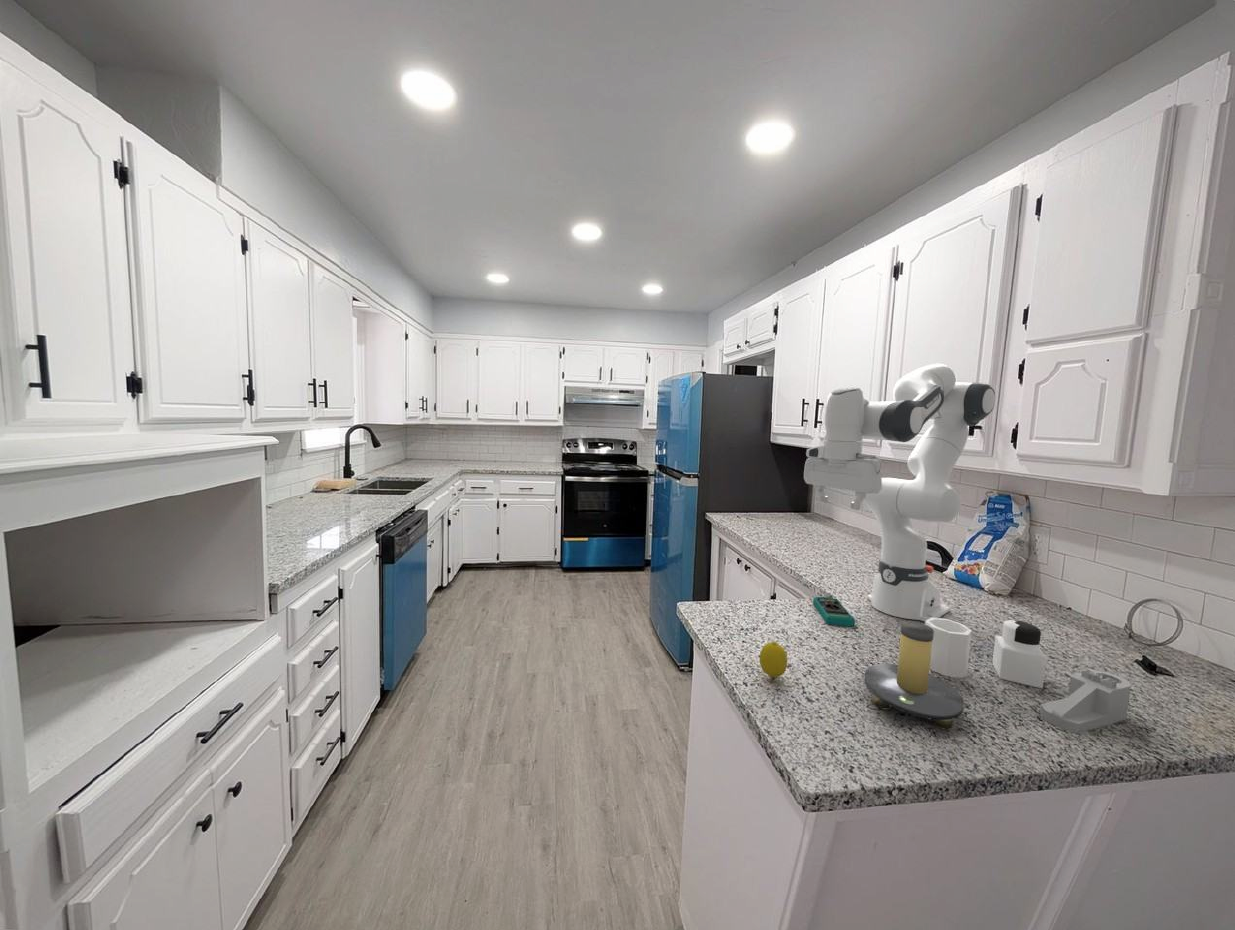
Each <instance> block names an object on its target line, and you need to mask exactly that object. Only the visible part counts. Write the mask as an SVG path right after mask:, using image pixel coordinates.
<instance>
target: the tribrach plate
mask: <svg viewBox="0 0 1235 930" xmlns="http://www.w3.org/2000/svg"><path fill="white" fill-rule="evenodd" d="M897 671H898V664H894V663H877V664H874V665H871V666H869V667H867V668H866V669H865V671H864V684H865V686H866V688H867V689H868V690H869V691H870V692H871V700H870V701H871V703H872V705H874V706H875V707H878V708H879V709H884V710H887V709H890V708H891V707H893V708H895V709H897V710H898V711H899V710H900V711H902V712H905V713H907V714H909V715H913V716H917V717H919V718H920V717H921V718H923V719H924V718H925V719H929V720H930V722H931V724H933V725H934V726H935V727H938V728H940V729H942V730H951V729H952V726H953V720H955V719H957V718H959V717H960V716H961V715H962V714H963V713H964V708H965V701H964V698H963V696H962V694H961V693H960V692H959V691H958V690H957V689H956V688H955V687H953V686H952V685H950V683H948V682H947V681H945V680H943V679H941V678H940V677H937V676H935V675H934V674H933V675H932V674H931V673H929V679H928V690H927V693H925V694H915V693H911V692H909V691H906V690H904V689H902V688H901V687H900V686H898V684H897Z"/></svg>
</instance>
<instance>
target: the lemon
mask: <svg viewBox="0 0 1235 930" xmlns="http://www.w3.org/2000/svg"><path fill="white" fill-rule="evenodd" d="M759 664H760V667H761V669H762V671H763V672H764V674H766V675H767V676H769V677H770V678H772V679H775V678H777V677H781V676H782V675H783V674H784V673H785V672H786V670H787V667H788V656H787V651H786V650H785V648H784V647H783V646H782V645H781V644H779V643H778V642H776V641H770V642H767V643H766V644H764V645H763V646H762V648H761V651H760V654H759Z"/></svg>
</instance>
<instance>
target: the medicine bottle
mask: <svg viewBox="0 0 1235 930" xmlns="http://www.w3.org/2000/svg"><path fill="white" fill-rule="evenodd" d="M1041 636H1042V631H1041V629H1040V628H1039V627H1037V626H1035V625H1033V624H1031V623H1029V622H1026V621H1022V620H1017V619H1015V620H1014V619H1009V620H1006V621H1004V622H1003V627H1002V635H995V638H994V647H993V654H992V655H993V656H992V666H993V667H994V670H995V672H996V674H997V675H998V677H999V679H1001V680H1005V681H1008V682H1009V681H1010V682H1013V683H1016V684H1021V685H1026V686H1029V687H1034V688H1038V689H1043V688H1044V684H1045V683H1044V681H1045V680H1044V679H1045V673H1046V666H1047V665H1046V664H1047V656H1046V655H1045V653H1044V652H1043V651H1042V650H1041V648H1040V645H1041Z"/></svg>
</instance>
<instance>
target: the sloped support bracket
mask: <svg viewBox="0 0 1235 930" xmlns="http://www.w3.org/2000/svg"><path fill="white" fill-rule="evenodd" d="M1069 677H1070V678H1069V686H1068V693H1067V694H1068V695H1067V697H1064V698H1060V699H1058V700H1053V701H1049V702H1048V701H1047V702H1046V703H1045V702H1044V703H1041V704H1040V710H1039V714H1040V716H1041V718H1042V719H1043V720H1044V721H1046V722H1048V723H1049V724H1051V725H1053V726H1055V727H1057V728H1059V729H1061V730H1063V731H1067V732H1071V733H1074V734H1075V733H1076V734H1081V733H1084V732H1087V731H1091V730H1095V729H1098V728H1101V727H1105V726H1108V725H1111V724H1115V723H1118V722H1122V721H1125V720H1127V715H1128V708H1129V701H1130V695H1131V687H1132V684H1131V683H1130V682H1129V681H1128V680H1127V679H1125V678H1123V677H1121V676H1118V675H1116V674H1113V673H1111V672H1107V671H1103V670H1098V669H1087V668H1086V669H1083V670H1081V671H1080V672H1077V673H1073V674H1072V675H1070V676H1069Z"/></svg>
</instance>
